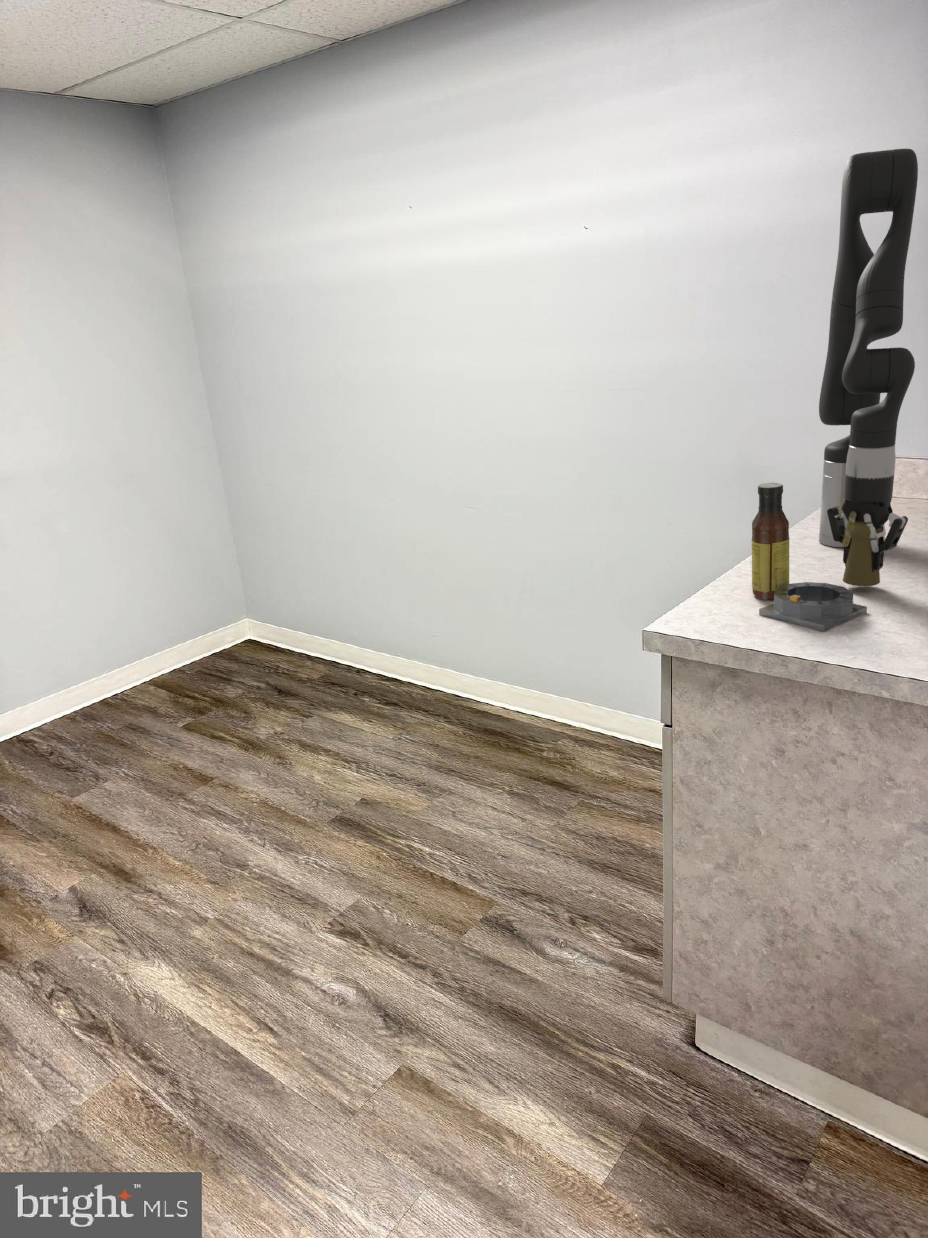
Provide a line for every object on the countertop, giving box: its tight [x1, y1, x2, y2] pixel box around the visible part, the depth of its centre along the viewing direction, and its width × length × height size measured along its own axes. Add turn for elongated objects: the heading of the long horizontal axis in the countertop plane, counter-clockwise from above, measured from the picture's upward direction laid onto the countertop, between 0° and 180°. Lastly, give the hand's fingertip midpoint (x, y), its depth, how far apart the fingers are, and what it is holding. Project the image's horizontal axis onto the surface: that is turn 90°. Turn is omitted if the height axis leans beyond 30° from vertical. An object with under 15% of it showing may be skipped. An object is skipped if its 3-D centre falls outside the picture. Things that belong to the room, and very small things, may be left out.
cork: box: [842, 521, 882, 587], centre depth 156 cm, size 6×6×11 cm
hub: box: [758, 581, 868, 633], centre depth 148 cm, size 12×12×4 cm
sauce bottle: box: [751, 482, 790, 601], centre depth 155 cm, size 6×6×20 cm
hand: (862, 568), depth 157 cm, fingers closed on cork, 4 cm apart
